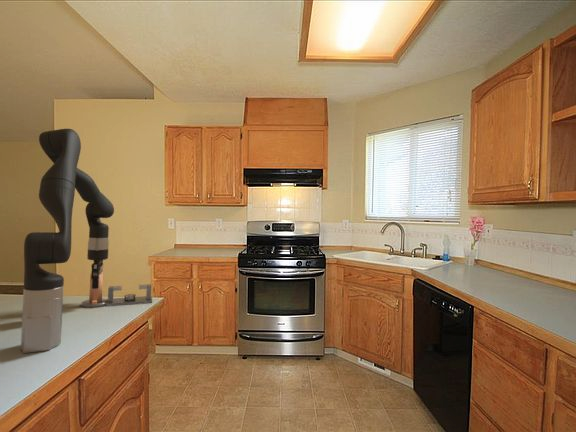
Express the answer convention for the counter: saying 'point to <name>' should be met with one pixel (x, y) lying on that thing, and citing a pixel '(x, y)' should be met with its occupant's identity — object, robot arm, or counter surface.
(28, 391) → the counter surface
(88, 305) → the coaster
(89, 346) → the counter surface
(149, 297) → the keeper post
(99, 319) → the counter surface
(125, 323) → the counter surface
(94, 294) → the knob
